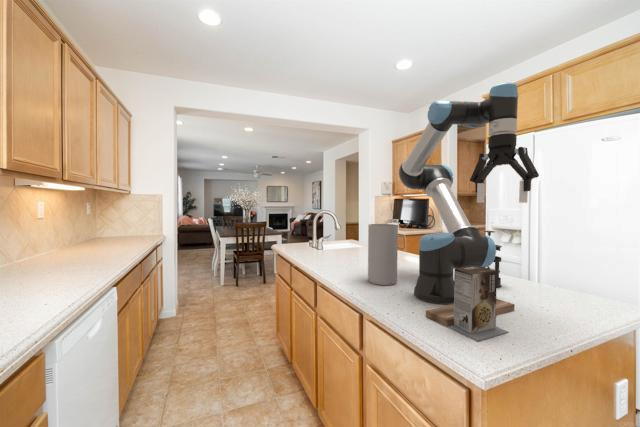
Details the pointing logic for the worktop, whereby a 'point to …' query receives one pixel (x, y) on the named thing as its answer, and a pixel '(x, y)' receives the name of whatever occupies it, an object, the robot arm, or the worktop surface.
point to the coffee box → (475, 298)
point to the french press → (496, 263)
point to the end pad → (480, 333)
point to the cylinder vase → (382, 253)
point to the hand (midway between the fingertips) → (500, 202)
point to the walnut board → (447, 312)
